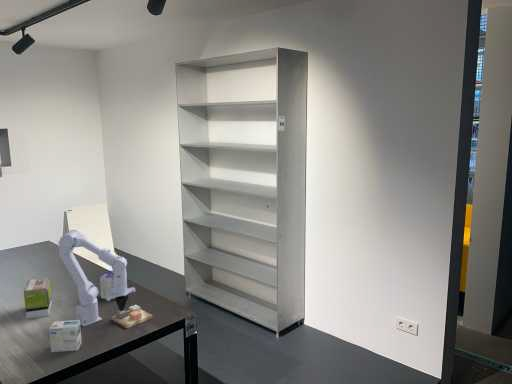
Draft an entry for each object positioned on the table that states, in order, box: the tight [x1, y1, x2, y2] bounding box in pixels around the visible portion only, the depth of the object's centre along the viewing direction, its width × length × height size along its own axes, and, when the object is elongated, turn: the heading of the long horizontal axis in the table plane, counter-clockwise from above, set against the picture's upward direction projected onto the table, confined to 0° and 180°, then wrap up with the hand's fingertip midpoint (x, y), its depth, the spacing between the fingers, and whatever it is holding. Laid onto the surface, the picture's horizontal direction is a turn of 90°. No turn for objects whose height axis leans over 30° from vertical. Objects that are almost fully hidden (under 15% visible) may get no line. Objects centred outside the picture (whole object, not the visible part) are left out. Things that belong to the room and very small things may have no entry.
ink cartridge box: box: [99, 270, 115, 300], centre depth 226 cm, size 10×6×14 cm, turn 82°
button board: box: [111, 309, 153, 329], centre depth 202 cm, size 14×13×2 cm
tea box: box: [23, 277, 52, 320], centre depth 209 cm, size 15×10×15 cm, turn 21°
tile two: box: [128, 304, 142, 313], centre depth 207 cm, size 4×4×2 cm
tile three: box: [115, 309, 128, 319], centre depth 201 cm, size 4×4×2 cm
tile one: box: [129, 311, 142, 320], centre depth 200 cm, size 4×4×2 cm
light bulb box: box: [48, 319, 82, 353], centre depth 175 cm, size 11×7×11 cm, turn 99°
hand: (121, 310), depth 201 cm, fingers closed
